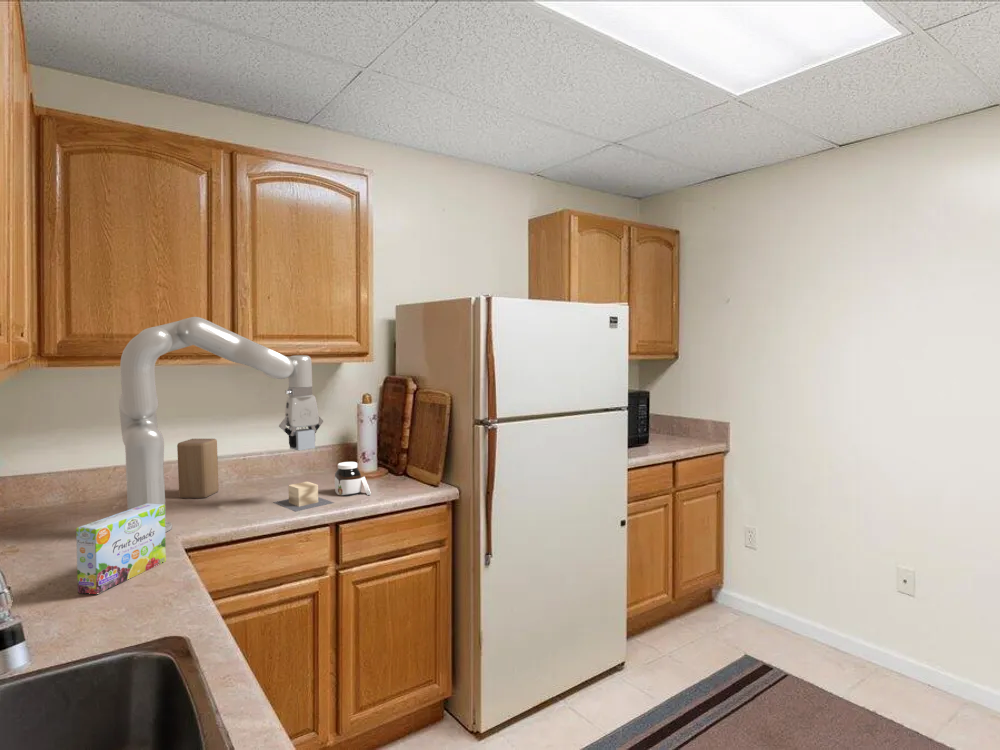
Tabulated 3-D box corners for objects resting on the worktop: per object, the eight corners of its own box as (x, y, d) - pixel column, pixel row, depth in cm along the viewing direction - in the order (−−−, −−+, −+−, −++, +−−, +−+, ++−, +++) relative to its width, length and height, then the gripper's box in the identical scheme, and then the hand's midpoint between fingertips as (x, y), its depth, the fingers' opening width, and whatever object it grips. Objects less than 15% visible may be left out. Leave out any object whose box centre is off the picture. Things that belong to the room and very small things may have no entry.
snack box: (98, 596, 132) (95, 528, 131) (76, 594, 133) (73, 527, 132) (168, 561, 153) (165, 502, 152) (148, 560, 154) (146, 501, 153)
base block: (298, 506, 199) (298, 488, 198) (288, 502, 204) (288, 485, 203) (318, 502, 204) (317, 484, 203) (308, 498, 209) (307, 481, 208)
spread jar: (332, 494, 218) (331, 463, 217) (360, 489, 225) (359, 458, 224) (347, 501, 208) (346, 468, 208) (376, 495, 216) (375, 463, 215)
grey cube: (298, 450, 198) (297, 432, 198) (289, 448, 203) (289, 430, 202) (315, 447, 203) (314, 430, 202) (306, 445, 207) (305, 428, 207)
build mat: (295, 514, 193) (295, 511, 193) (272, 505, 204) (272, 502, 204) (334, 505, 203) (334, 502, 203) (310, 497, 214) (310, 494, 214)
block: (193, 491, 224) (191, 438, 223) (219, 491, 223) (218, 438, 222) (178, 498, 214) (175, 442, 213) (205, 498, 213) (203, 442, 212)
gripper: (281, 395, 193) (283, 450, 194) (329, 391, 205) (331, 443, 206) (270, 393, 198) (272, 448, 199) (318, 390, 210) (320, 441, 211)
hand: (302, 445), depth 203 cm, fingers closed on grey cube, 6 cm apart
